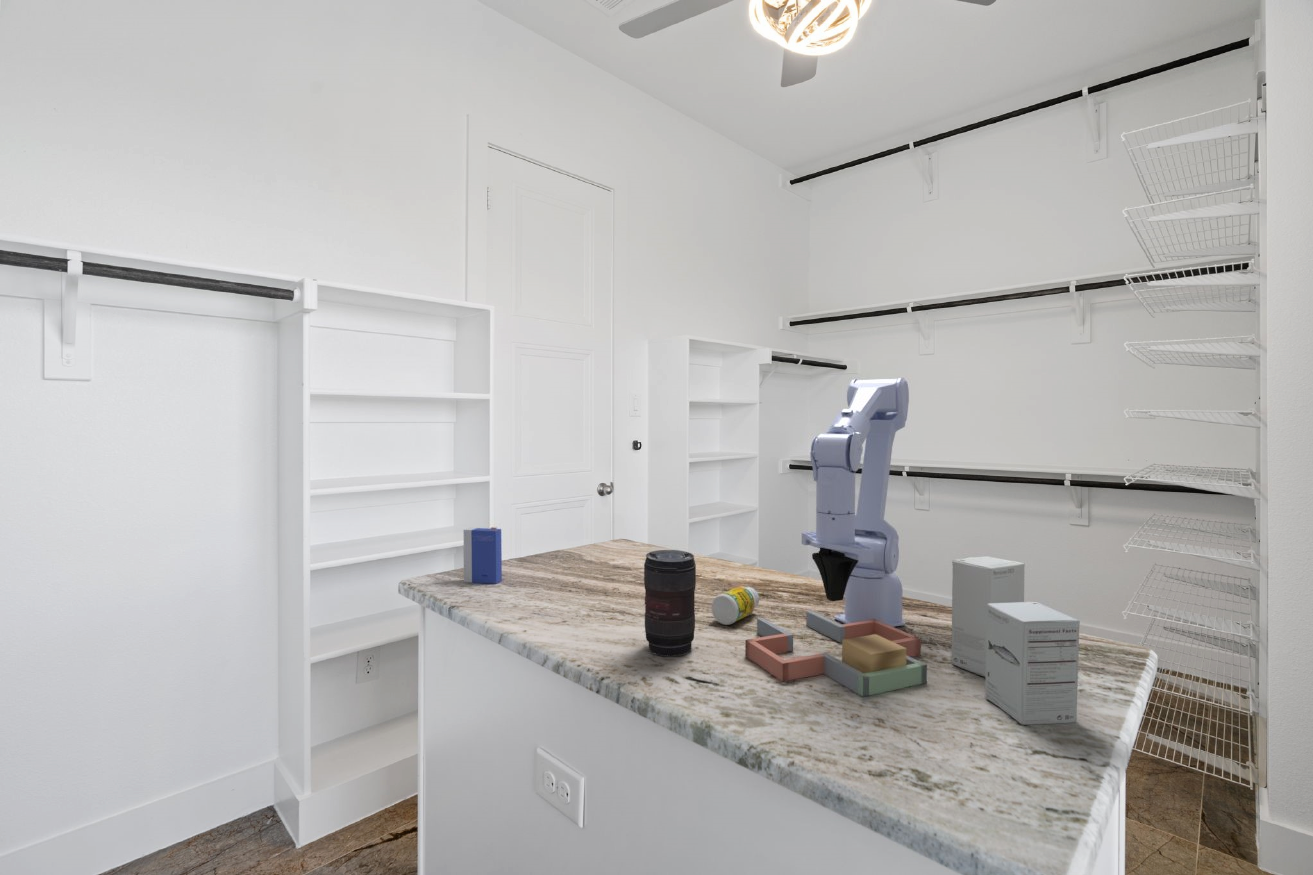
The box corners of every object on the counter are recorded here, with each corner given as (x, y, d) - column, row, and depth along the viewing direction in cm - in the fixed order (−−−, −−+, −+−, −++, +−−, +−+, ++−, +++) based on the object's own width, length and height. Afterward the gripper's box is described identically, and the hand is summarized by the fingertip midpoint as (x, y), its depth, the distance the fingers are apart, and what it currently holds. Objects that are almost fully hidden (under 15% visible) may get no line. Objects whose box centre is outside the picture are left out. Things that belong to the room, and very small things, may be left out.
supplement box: (983, 698, 81) (984, 602, 81) (1036, 696, 82) (1038, 600, 82) (1020, 726, 74) (1022, 620, 74) (1079, 723, 75) (1081, 618, 74)
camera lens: (648, 660, 94) (647, 561, 94) (641, 641, 102) (641, 550, 102) (700, 657, 95) (700, 559, 95) (690, 638, 103) (689, 548, 103)
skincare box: (988, 680, 87) (990, 568, 86) (947, 663, 93) (948, 559, 92) (1025, 668, 91) (1027, 562, 90) (983, 653, 97) (985, 553, 96)
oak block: (875, 667, 92) (875, 634, 91) (906, 684, 86) (906, 648, 86) (841, 674, 89) (842, 639, 89) (870, 691, 84) (871, 654, 84)
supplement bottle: (716, 628, 111) (743, 615, 118) (740, 621, 108) (766, 608, 115) (706, 598, 112) (733, 587, 119) (730, 591, 109) (756, 580, 116)
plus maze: (843, 619, 113) (843, 605, 113) (964, 674, 89) (964, 657, 89) (720, 638, 103) (720, 623, 103) (818, 706, 79) (818, 686, 79)
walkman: (501, 580, 140) (501, 527, 139) (496, 584, 137) (495, 529, 137) (469, 578, 141) (469, 526, 141) (463, 582, 139) (462, 528, 138)
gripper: (786, 506, 101) (785, 590, 102) (846, 520, 88) (845, 616, 88) (821, 504, 104) (821, 585, 104) (885, 517, 91) (884, 610, 91)
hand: (834, 599), depth 97 cm, fingers closed
